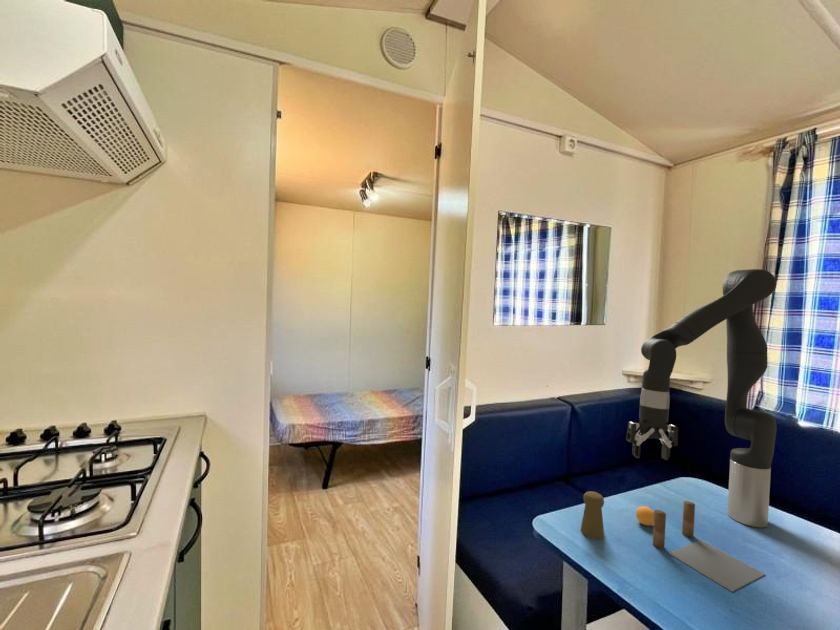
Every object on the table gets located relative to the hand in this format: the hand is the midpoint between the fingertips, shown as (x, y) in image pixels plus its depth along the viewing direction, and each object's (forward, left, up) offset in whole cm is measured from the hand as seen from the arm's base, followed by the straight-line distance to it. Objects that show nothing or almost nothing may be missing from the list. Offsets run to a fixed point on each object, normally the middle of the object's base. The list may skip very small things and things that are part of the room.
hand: (650, 458), depth 114 cm
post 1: (+12, +11, -18) cm, 24 cm away
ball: (+5, +3, -15) cm, 16 cm away
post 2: (-1, +11, -18) cm, 21 cm away
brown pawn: (+23, 0, -18) cm, 29 cm away
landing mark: (+5, +21, -18) cm, 28 cm away
